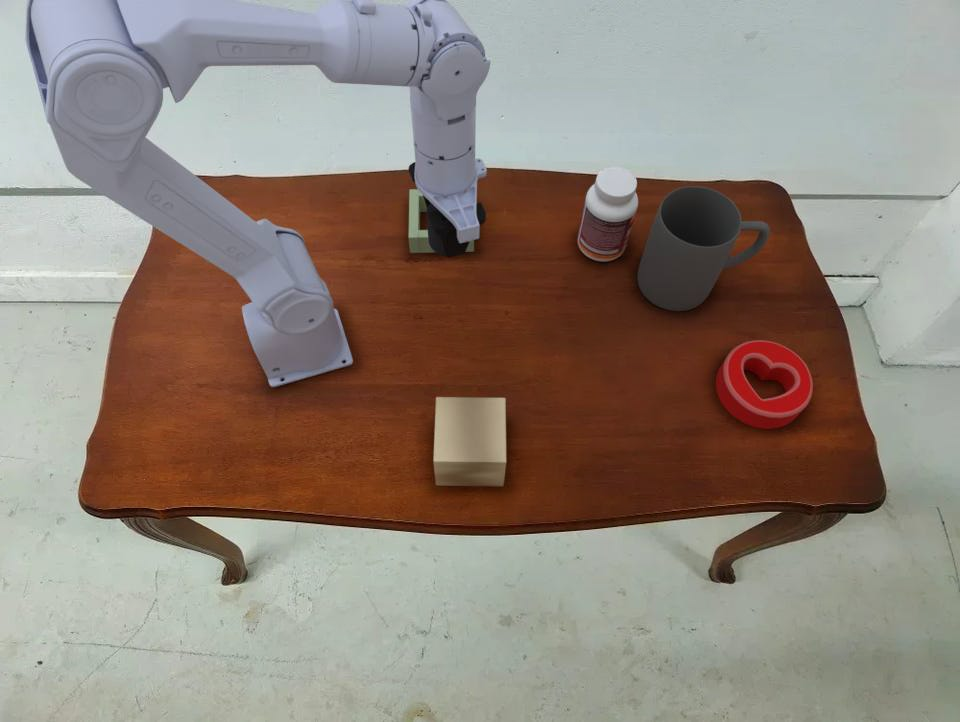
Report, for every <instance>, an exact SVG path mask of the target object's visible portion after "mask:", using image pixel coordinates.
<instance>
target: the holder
mask: <svg viewBox="0 0 960 722" xmlns="http://www.w3.org/2000/svg"><path fill="white" fill-rule="evenodd" d="M408 194H409V195H408V196H409V197H408V245H409V253H410V254H425V253H426V254H433V253H436V252H435V251H434V250H433V249H432V248H431V247H430V245H429V241H428V229H421V213H426V211H427V206H426V203H425V200H424V197H423V194H422V193H421V192H420V191H419V190H418V188H417V189H412V188H411V189H409V193H408ZM474 252H475V240H472V241H470V242H469V245H468V247H467V249H466V252H465V253H474ZM436 254H437V253H436Z"/></svg>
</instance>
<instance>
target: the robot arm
mask: <svg viewBox="0 0 960 722" xmlns="http://www.w3.org/2000/svg"><path fill="white" fill-rule="evenodd" d="M25 8H26V12H25V36H24V38H25V39H24V40H25V44H26V48H27V51H28V55H29V59H30V63H31V65H32V69H33V73H34V76H35V81H36V84H37V88H38V91H39V96H40V99H41V103H42V107H43V111H44V115H45V119H46V123H48V124H49V127H50V130H51V132H52V134H53V137H54V140H55V142H56V145H57V148H58V150H59V153H60V156H61V158H62V160H63V163H64V166H65V168H66V170H67V171H68V172H69V174H71V175H72V176H74V178H75V179H77V180H79V181H80V182H82V183H83V184H85V185H87V186H88V187H90V188H91V189H92V190H95V191H96V192H98V193H100V194H101V195H103V196H104V197H106V198H107V199H109V200H110V201H112V202H114V203H115V204H117V205H119V206H120V207H121V208H123V209H125V210H127V212H130V213H131V214H132V215H134V216H136V217H137V218H139V219H140V220H142V221H144V222H146V223H147V224H149V225H150V226H152V227H153V228H155V229H157V230H158V231H160V232H161V233H163V234H164V235H165V236H168V237H169V238H171V240H174V241H176V242H177V243H178V244H181V245H182V246H183V247H185V248H187V249H188V250H189V251H191V252H193V253H195V254H196V255H198V256H199V257H201V258H202V259H204V260H206V261H207V262H209V263H211V264H212V265H214V266H215V267H217V268H219V269H220V270H222V271H223V272H224V273H226V274H228V275H229V276H231V277H233V278H234V279H235V280H236V281H237V283H238V284H239V286H240V287H241V288H242V289H243V291H244V292H245V294H246V295H247V297H248V298H249V299H250V301H251V302H248V303H246V304H243V305H242V306H241V312H242V316H243V318H242V319H243V321H244V326H245V329H246V332H247V336H248V338H249V342H250V344H251V347H252V350H253V352H254V354H255V356H256V358H257V360H258V362H259V364H260V365H261V368H262V370H263V372H264V374H265V376H266V378H267V381H268V384H269V386H270V387H271V388H277V387H281V386H285V385H287V384H291V383H294V382H298V381H301V380H305V379H308V378H311V377H316V376H318V375H322V374H325V373H327V372H332V371H335V370H339V369H342V368H345V367H350V366H352V365H353V364H354V359H353V356H352V352H351V349H350V347H349V343H348V339H347V336H346V333H345V330H344V327H343V323H342V320H341V318H340V314H339V311H338V309H336V308H335V307H334V300H333V298H332V296H331V293H330V290H329V287H328V285H327V284H326V282H325V281H324V280H323V279H322V278H321V277H320V274H319V272H318V271H317V268H316V267H315V264H314V261H313V260H312V257H311V255H310V253H309V251H308V249H307V247H306V246H307V245H306V242H305V239H304V237H303V236H302V235H301V233H299V232H298V231H297V230H295V229H293V228H289V227H283V226H279V225H276V224H274V223H273V222H271V221H270V220H268V218H262V219H259V220H257V221H255V220H254V219H253V218H252V217H250V216H249V215H248V214H246V213H245V212H244V211H242V210H241V209H240V208H238V207H237V206H236V205H234V203H232V202H231V201H229V200H228V199H227V198H225V197H224V196H223V195H222V194H220V193H219V192H218V191H216V190H215V189H214V188H212V187H211V186H210V185H208V184H207V183H206V182H204V181H203V180H202V179H200V178H199V177H198V176H197V175H196V174H194V173H193V172H192V171H190V170H189V169H187V168H186V167H185V166H184V165H182V163H180V162H178V161H177V160H176V159H174V158H173V157H172V156H171V155H169V154H168V153H167V152H165V151H164V150H163V149H161V147H159V146H158V145H156V144H155V143H154V142H152V141H151V140H150V139H148V138H147V135H148V134H149V132H150V131H151V128H152V127H153V125H154V124H155V121H156V120H157V118H158V116H159V114H160V111H161V109H162V106H163V101H164V89H167V88H169V91H170V93H171V95H172V98H173V100H174V103H175V104H178V103H180V102H182V101H183V100H184V99H185V97H186V96H187V94H188V93H189V92H190V91H191V89H192V88H193V86H194V85H195V84H196V82H197V80H198V79H199V78H200V76H201V75H202V74H203V73H204V71H205V70H206V68H210V67H242V66H243V67H249V66H251V67H254V66H255V67H257V66H258V67H259V66H261V67H265V66H315V67H317V68H318V69H319V70H320V72H321V73H322V75H323V76H324V77H325V78H326V79H327V80H329V82H331V83H335V84H347V85H348V84H351V85H370V86H387V87H390V86H391V87H405V88H406V87H409V103H410V104H409V105H410V116H411V126H412V127H411V128H412V137H413V138H412V139H413V150H414V151H413V152H414V162H412V163H410V164H409V165H408V173H409V175H410V178H411V181H412V182H413V183H414V185H415V187H416V188H417V189H418V190H419V191H420V192H421V193H422V194H423V197H424V200H425V203H426V206H427V207H428V206H429V204H430V203H432V204H433V205H434V206H435V207H436V208H437V209H438V210H435V211H431V212H427V213H426V212H425V213H426V219H427V218H428V220H429V222H430V225H431V227H432V229H433V231H434V232H435V233H436V234H437V235H438V236H439V237H440V240H441V243H442V247H443V249H444V252H445V254H446V256H445V257H446V258H454V257H456V256H461V255H465V253H467V252H466V249H467V247H468V244H469V242H470V241H472V240H474V241H475V240H479V239H480V232H481V231H480V227H481V226H482V225H483V224H484V223H485V222H486V219H487V212H486V210H485V208H484V205H483V203H482V202H477V201H478V200H477V199H478V181H479V180H480V179H482V178H485V177H487V172H488V170H487V167H486V164H485V162H484V160H482V159H481V158H476V132H477V131H476V129H477V127H476V125H477V94H478V92H479V90H480V88H481V87H482V86H483V84H484V82H485V80H486V79H487V77H488V74H489V71H490V68H491V60H490V59H488V58H487V57H486V50H485V47H484V45H483V43H482V41H481V40H480V39H479V38H478V37H477V35H476V33H474V31H473V29H472V28H471V27H470V26H469V25H468V23H467V22H466V21H465V19H464V18H463V17H462V16H461V14H460V13H459V12H458V10H457V9H456V8H455V7H454V6H453V5H452V4H451V3H450V2H449V1H447V0H411V1H410V2H408V3H406V4H397V5H395V4H386V3H377V2H374V1H373V0H327V1H325V2H324V3H322V5H321V6H320V7H319V8H318V9H317V10H316V11H315V12H312V13H311V12H306V11H300V10H294V9H288V8H282V7H277V6H271V5H266V4H259V3H253V2H248V1H242V0H26V7H25Z"/></svg>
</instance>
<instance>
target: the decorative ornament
mask: <svg viewBox="0 0 960 722" xmlns="http://www.w3.org/2000/svg"><path fill="white" fill-rule="evenodd" d="M745 371H750V372H752V373H753V374H755V375H756V376H757V377H758V378H759V379H760V381H761V382H763V381H768V380H770V381H771V380H772V381H776V382H778V383H779V384H780V385H782V387H783V388H784V393H782V394H780V395H777V396H773V397H768V398H761V397H760V396H759V395H758V393H757V392H756V391H755V389H754V387H752V385H751V384H750V382H749V380H748V379H747V376H746V374H745ZM813 383H814V382H813V377H812V375H811V371H810V369H809V368H808V366H807V364H806V363H805V361H804V360H803V359H802V358H801V357H800V356H799V355H798V354H797V353H796V352H794V351H793V350H792V349H790V348H788V347H786V346H784V345H782V344H780V343H777V342H774V341H769V340H761V339H759V340H758V339H755V340H749V341H745V342H742V343H741V344H738V345H737V346H735V347H734V348H733V349H732V350H730V352H729V353H728V354H727V355H726V357H725V359H724V360H723V362H722V363H721V365H720V367H719V369H718V370H717V373H716V376H715V388H716V393H717V397H718V399H719V402H720V403H721V404H722V406H723V407H724V409H725V410H726V411H727V412H728V413H729V414H730V415H731V416H733V417H734V418H735V419H736V420H738V421H739V422H740V423H743V424H744V425H746V426H749V427H753V428H757V429H764V430H766V429H767V430H770V429H771V430H772V429H778V428H783V427H785V426H786V425H788V424H790V423H792V422H793V421H794V420H795V419H796V418H797V417H798V416H799V415H800V414H801V413H802V412H803V411H804V410H805V409H806V407H807V406H808V405H809V404H810V401H811V399H812V396H813V390H814V384H813Z"/></svg>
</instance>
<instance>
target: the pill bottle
mask: <svg viewBox="0 0 960 722" xmlns="http://www.w3.org/2000/svg"><path fill="white" fill-rule="evenodd" d="M637 187H638V181H637V178H636V176H635V175H634V173H633V172H631V171H630V170H628V169H626V168H624V167H621V166H608V167H606V168H603V169H602V170H600V171H599V172H598V173H597V175H596V178H595V181H594V183H593V184H592V185H591V186H590V187H589V189H588V190H587V192H586V195H585V198H584V203H583V208H582V209H583V210H582V215H581V219H580V224H579V229H578V233H577V246H578V248H579V250H580V251H581V253H582V254H583V255H584V256H585V257H587V258H588V259H590V260H593V261H596V262H603V263H605V262H612V261H614V260H617V259H618V258H620V257H621V256H622V255H623V254H624V252H625V250H626V248H627V245H628V241H629V238H630V234H631V231H632V227H633V224H634V220H635V217H636V215H637V210H638V206H639V196H638V194H637V192H636V191H637Z"/></svg>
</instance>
